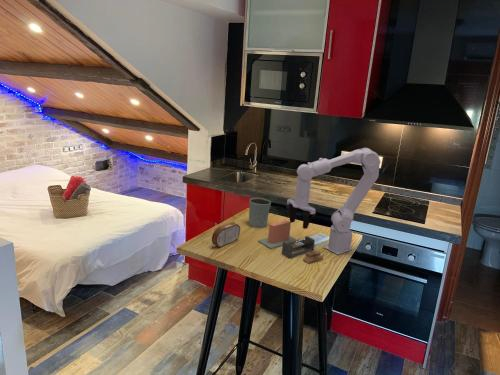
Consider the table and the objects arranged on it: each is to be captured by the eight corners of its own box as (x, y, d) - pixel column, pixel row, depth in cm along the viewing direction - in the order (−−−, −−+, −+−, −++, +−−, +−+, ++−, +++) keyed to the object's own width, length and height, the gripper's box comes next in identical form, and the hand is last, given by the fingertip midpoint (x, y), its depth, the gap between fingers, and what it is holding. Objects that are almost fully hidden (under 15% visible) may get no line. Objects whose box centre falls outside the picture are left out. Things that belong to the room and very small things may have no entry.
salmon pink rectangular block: (285, 237, 164) (286, 220, 162) (288, 239, 162) (290, 222, 160) (267, 241, 158) (269, 224, 156) (271, 243, 156) (273, 226, 154)
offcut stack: (317, 257, 149) (318, 249, 148) (322, 260, 146) (324, 251, 145) (303, 261, 144) (304, 253, 143) (308, 264, 142) (309, 256, 141)
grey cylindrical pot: (245, 220, 181) (247, 197, 178) (265, 220, 184) (267, 197, 181) (250, 228, 172) (252, 204, 169) (271, 228, 174) (273, 204, 171)
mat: (285, 234, 168) (285, 233, 168) (298, 241, 162) (298, 240, 161) (257, 241, 158) (257, 240, 158) (270, 249, 152) (270, 247, 152)
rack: (305, 246, 157) (306, 235, 155) (313, 251, 153) (315, 240, 152) (281, 253, 149) (282, 242, 147) (289, 258, 145) (291, 246, 144)
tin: (235, 237, 161) (236, 219, 158) (240, 240, 159) (242, 221, 157) (210, 247, 149) (211, 228, 147) (216, 250, 147) (217, 230, 145)
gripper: (283, 190, 154) (279, 221, 158) (308, 200, 143) (304, 232, 147) (295, 188, 158) (291, 218, 162) (320, 198, 147) (316, 229, 151)
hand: (298, 225), depth 155 cm, fingers open, 7 cm apart
